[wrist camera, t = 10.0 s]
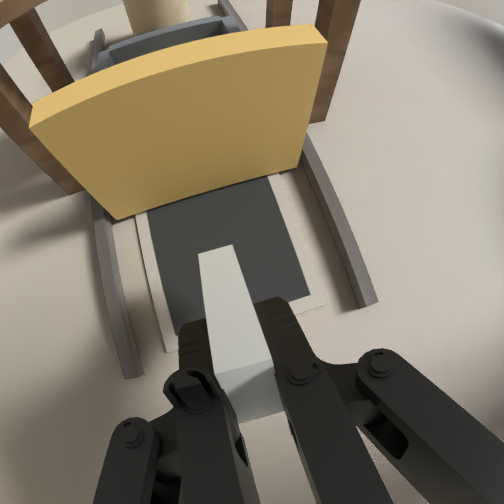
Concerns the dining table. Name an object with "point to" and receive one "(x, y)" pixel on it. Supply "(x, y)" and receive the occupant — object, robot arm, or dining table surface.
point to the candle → (155, 14)
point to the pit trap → (220, 235)
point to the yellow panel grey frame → (184, 112)
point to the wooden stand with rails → (17, 128)
